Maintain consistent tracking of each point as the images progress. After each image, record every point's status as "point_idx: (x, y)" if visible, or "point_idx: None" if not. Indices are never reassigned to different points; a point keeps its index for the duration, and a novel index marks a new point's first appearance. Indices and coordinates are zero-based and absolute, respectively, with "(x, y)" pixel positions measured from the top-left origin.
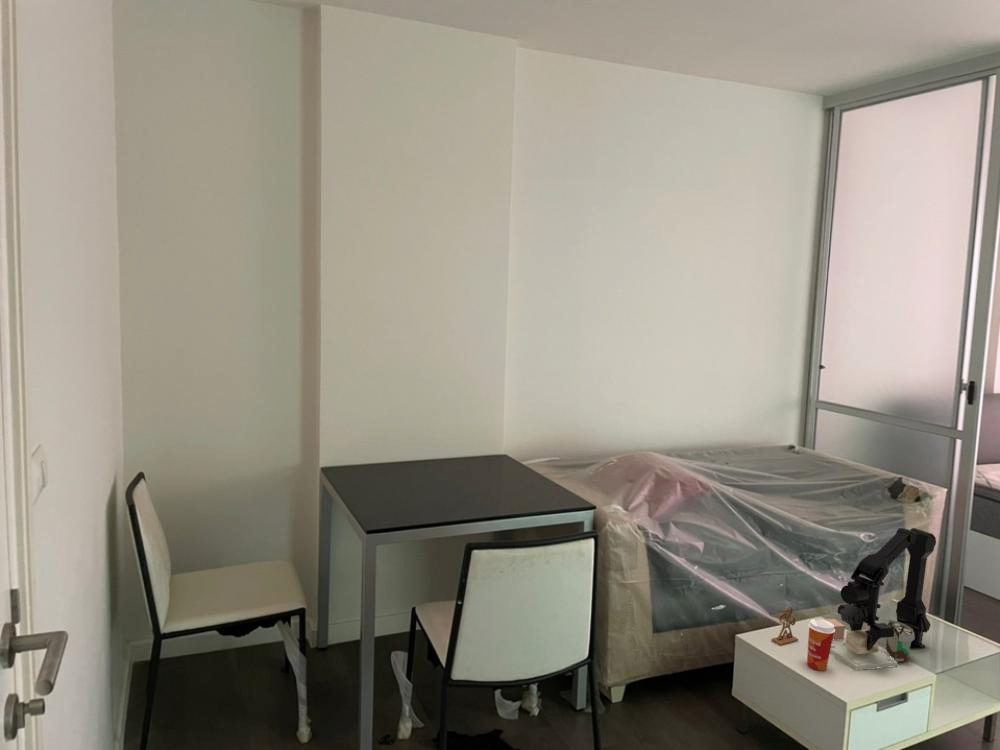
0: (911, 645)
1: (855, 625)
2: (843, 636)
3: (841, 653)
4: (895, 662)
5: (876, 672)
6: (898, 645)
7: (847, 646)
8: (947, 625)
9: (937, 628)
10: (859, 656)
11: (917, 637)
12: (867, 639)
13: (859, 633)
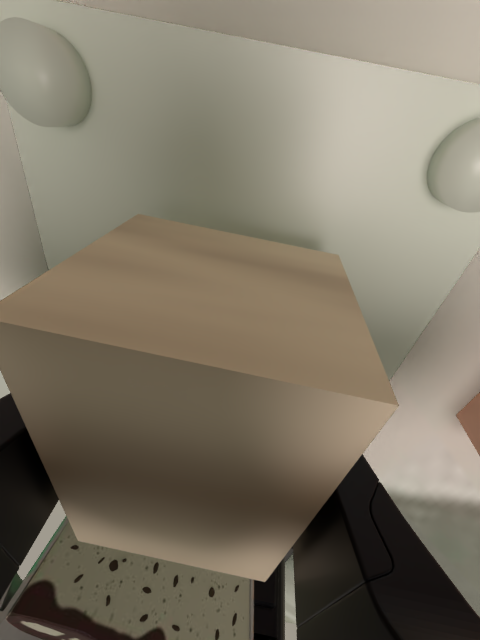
0: None
1: (348, 630)
2: (469, 434)
3: (296, 120)
4: None
5: (18, 216)
6: (63, 521)
7: (298, 252)
8: (289, 622)
9: (289, 611)
10: None
11: None
12: (16, 426)
13: (210, 485)
